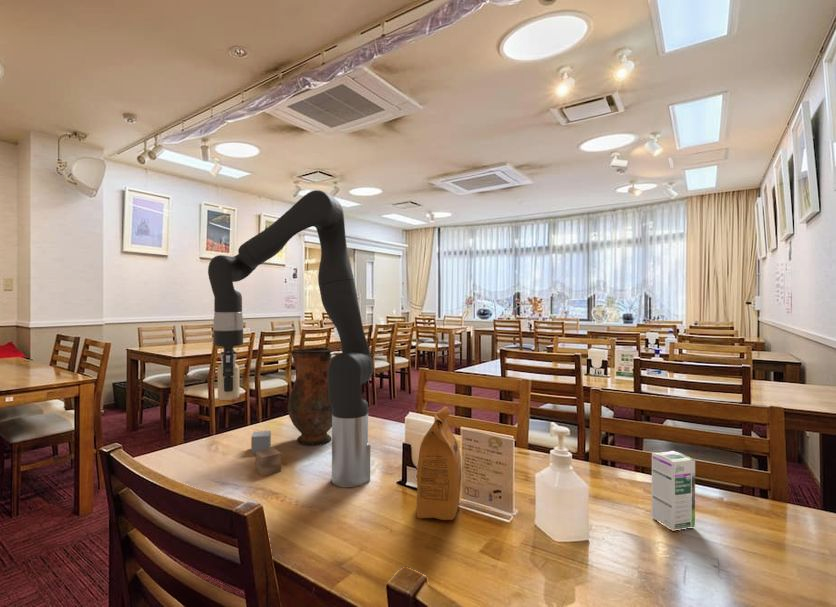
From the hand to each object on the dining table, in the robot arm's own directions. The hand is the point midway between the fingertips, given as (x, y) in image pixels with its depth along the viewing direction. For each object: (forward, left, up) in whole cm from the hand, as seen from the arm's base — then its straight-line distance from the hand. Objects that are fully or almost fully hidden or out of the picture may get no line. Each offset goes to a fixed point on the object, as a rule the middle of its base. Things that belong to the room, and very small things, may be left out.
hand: (228, 388), depth 117 cm
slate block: (-9, -9, -21) cm, 25 cm away
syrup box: (-87, +68, -22) cm, 112 cm away
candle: (0, 0, -3) cm, 3 cm away
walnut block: (-10, +8, -21) cm, 25 cm away
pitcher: (-27, -10, -22) cm, 36 cm away
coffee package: (-44, +44, -22) cm, 66 cm away
